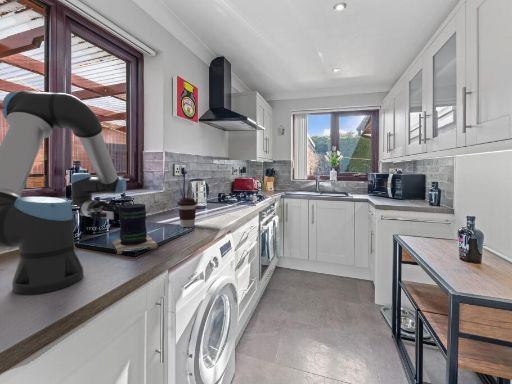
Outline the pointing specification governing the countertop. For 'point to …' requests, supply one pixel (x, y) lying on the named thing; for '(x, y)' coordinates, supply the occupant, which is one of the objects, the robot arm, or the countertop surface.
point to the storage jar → (132, 224)
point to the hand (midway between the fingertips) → (128, 213)
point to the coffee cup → (187, 212)
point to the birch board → (121, 248)
